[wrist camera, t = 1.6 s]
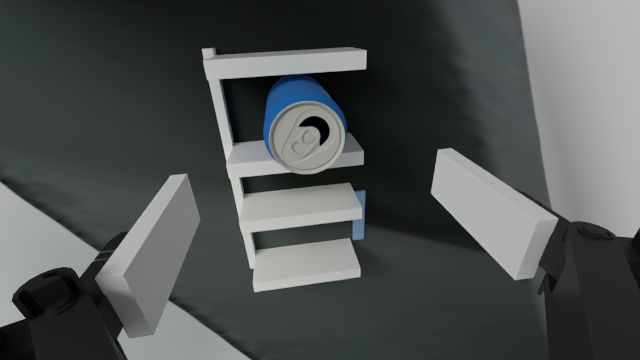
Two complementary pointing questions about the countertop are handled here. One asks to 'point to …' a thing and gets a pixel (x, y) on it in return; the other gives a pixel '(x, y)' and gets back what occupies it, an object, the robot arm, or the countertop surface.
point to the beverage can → (303, 125)
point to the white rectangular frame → (291, 204)
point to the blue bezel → (359, 223)
